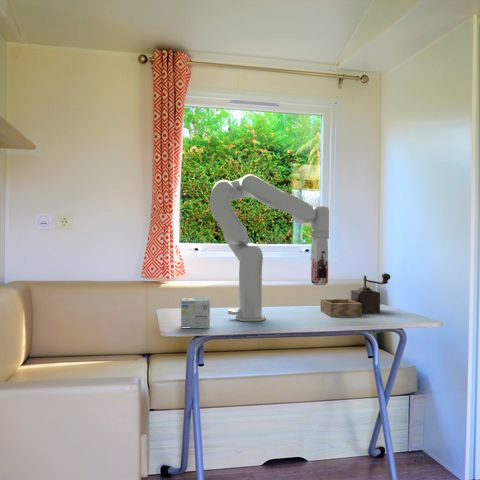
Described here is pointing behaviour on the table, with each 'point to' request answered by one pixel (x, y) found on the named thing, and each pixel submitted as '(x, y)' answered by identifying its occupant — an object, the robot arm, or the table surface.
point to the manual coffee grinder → (369, 296)
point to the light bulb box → (195, 312)
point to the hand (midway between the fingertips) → (319, 276)
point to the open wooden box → (341, 307)
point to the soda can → (315, 271)
